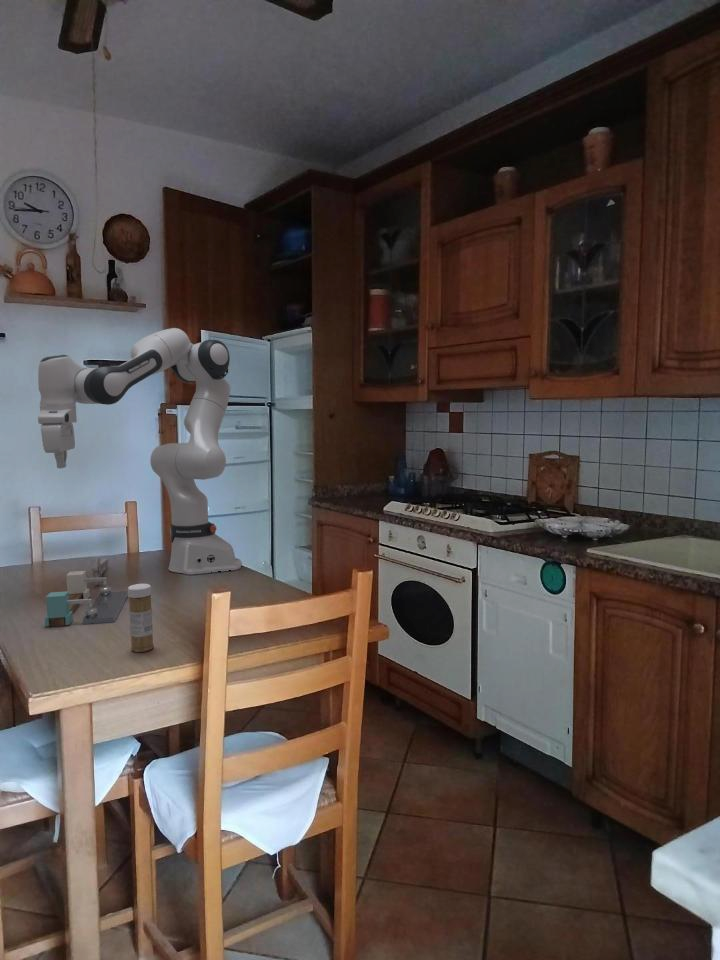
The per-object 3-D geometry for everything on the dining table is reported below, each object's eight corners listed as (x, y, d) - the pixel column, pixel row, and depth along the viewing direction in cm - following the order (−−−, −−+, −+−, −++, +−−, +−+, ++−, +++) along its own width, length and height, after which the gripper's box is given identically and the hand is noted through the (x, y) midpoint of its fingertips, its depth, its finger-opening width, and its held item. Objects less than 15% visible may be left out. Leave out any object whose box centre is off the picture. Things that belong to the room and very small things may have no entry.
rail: (84, 598, 180) (84, 590, 180) (64, 625, 157) (64, 617, 157) (72, 598, 180) (72, 591, 179) (50, 626, 157) (50, 618, 157)
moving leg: (94, 618, 162) (92, 589, 161) (91, 623, 158) (89, 594, 157) (49, 621, 160) (47, 592, 159) (45, 626, 156) (43, 597, 155)
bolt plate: (128, 595, 183) (127, 585, 182) (114, 622, 159) (113, 610, 159) (100, 596, 181) (100, 586, 181) (82, 624, 158) (82, 612, 158)
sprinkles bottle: (146, 643, 144) (143, 581, 143) (158, 648, 141) (155, 585, 140) (126, 649, 141) (123, 586, 140) (137, 654, 138) (134, 589, 136)
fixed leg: (108, 594, 182) (107, 569, 182) (106, 598, 178) (104, 573, 178) (68, 597, 180) (67, 571, 180) (65, 601, 176) (63, 575, 176)
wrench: (108, 576, 217) (98, 588, 188) (102, 576, 216) (91, 589, 187) (107, 550, 217) (97, 559, 188) (101, 551, 216) (90, 560, 187)
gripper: (55, 416, 191) (58, 465, 193) (35, 416, 171) (39, 471, 173) (79, 415, 193) (81, 464, 194) (62, 416, 173) (65, 470, 174)
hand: (61, 468), depth 183 cm, fingers closed
